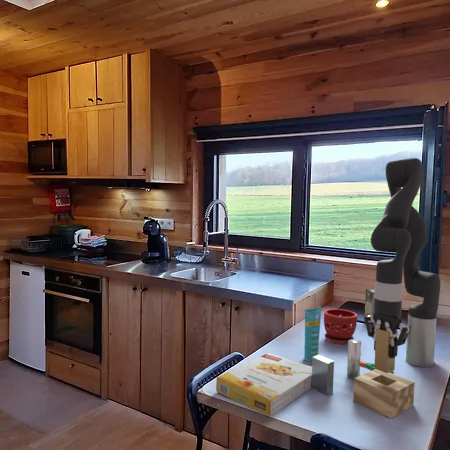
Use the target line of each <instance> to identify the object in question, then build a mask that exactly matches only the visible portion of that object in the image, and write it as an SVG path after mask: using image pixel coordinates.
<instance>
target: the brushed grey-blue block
mask: <svg viewBox="0 0 450 450" xmlns="http://www.w3.org/2000/svg"><path fill="white" fill-rule="evenodd" d="M311 367H312V384H311V388H310V389H312V390H314V391H317V392H319V393H322V394H323V395H326V396H328V395H330V393H331V394H333V393H334V376H335V375H334V374H335V371H334V370H335V360H332V359H330V358H327V357H325V356H323V355H320V354H318V355H317V356H314V357H312V361H311ZM332 392H333V393H332Z"/></svg>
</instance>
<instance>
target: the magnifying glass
mask: <svg viewBox="0 0 450 450" xmlns="http://www.w3.org/2000/svg"><path fill="white" fill-rule="evenodd" d="M374 364H375V363H370V362H365V361H361V360H360V367H364V368H367V369H369V368H370V369H369V370H370V371H372V370H374ZM389 373H392V374H394V370H393V371H391V372H389Z"/></svg>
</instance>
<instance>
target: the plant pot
mask: <svg viewBox="0 0 450 450" xmlns="http://www.w3.org/2000/svg"><path fill="white" fill-rule="evenodd" d="M357 322H358V314H357V313H356V312H353V311H351V310H347V309H339V308H329V309H326V310H324V314H323V325H324V329H325V334H324V338H325V339H326V340H327V342H330V343H332V344H334V345H348V341H349V340H355V338H354V337H353V335H354V334H355V332H356V330H357V329H356V327H357Z"/></svg>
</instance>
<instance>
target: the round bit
mask: <svg viewBox="0 0 450 450" xmlns="http://www.w3.org/2000/svg"><path fill="white" fill-rule="evenodd" d="M361 346H362V342H361V340H358V339H354V340H349V341H348V344H347V367H346V368H347V369H346V377H347V378H349V379H350V380H354V378H356V377H358V376H360V375H361V373H360V372H361V366H360V361H361V356H362V355H361V352H362V347H361Z"/></svg>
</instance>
